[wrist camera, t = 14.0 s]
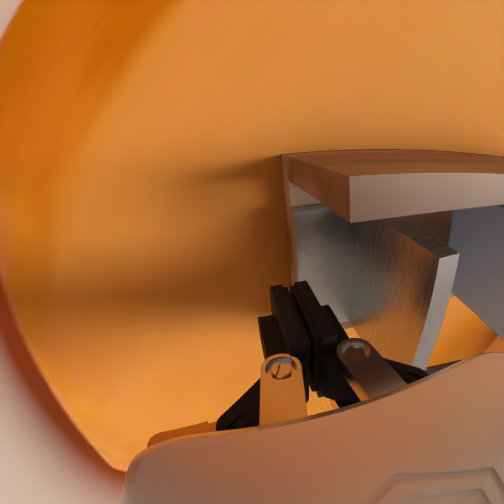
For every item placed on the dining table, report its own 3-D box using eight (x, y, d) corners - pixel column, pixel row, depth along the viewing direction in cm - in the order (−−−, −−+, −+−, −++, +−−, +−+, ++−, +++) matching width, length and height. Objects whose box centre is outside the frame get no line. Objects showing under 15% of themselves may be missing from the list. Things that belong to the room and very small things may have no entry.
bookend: (290, 208, 13) (353, 277, 7) (365, 199, 13) (459, 253, 7) (296, 324, 16) (334, 420, 10) (359, 310, 16) (415, 391, 10)
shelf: (280, 154, 14) (373, 185, 5) (533, 162, 15) (598, 187, 7) (293, 327, 18) (336, 447, 10) (520, 259, 20) (573, 298, 11)
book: (455, 188, 14) (551, 231, 7) (480, 188, 14) (566, 226, 7) (440, 285, 17) (509, 349, 10) (465, 277, 17) (531, 332, 10)
